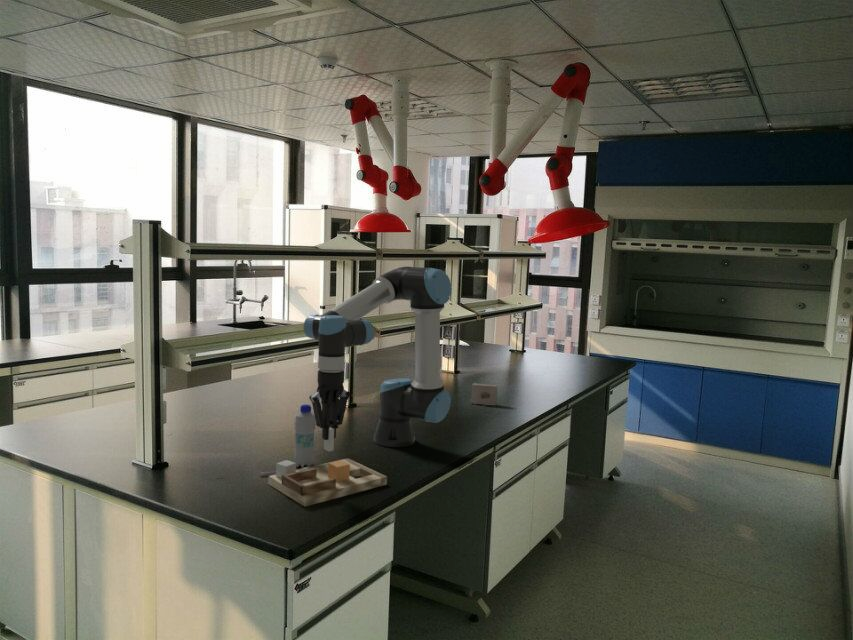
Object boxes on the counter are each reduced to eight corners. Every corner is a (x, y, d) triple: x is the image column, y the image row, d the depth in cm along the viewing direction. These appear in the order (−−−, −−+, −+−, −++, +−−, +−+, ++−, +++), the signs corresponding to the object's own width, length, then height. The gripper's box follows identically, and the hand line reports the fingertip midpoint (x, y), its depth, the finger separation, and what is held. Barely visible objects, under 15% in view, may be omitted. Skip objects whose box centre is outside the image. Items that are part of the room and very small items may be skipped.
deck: (347, 465, 209) (348, 457, 209) (386, 484, 195) (387, 475, 194) (268, 484, 190) (268, 475, 190) (304, 506, 176) (305, 497, 175)
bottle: (315, 462, 211) (317, 402, 209) (312, 469, 204) (314, 407, 202) (294, 461, 211) (296, 401, 208) (291, 468, 204) (293, 406, 202)
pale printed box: (470, 404, 301) (472, 384, 300) (471, 402, 305) (472, 382, 303) (496, 406, 299) (498, 386, 298) (497, 404, 303) (498, 384, 302)
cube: (340, 474, 194) (340, 460, 194) (349, 479, 191) (349, 464, 190) (327, 477, 191) (328, 462, 191) (336, 482, 188) (337, 467, 187)
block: (285, 472, 193) (286, 459, 193) (295, 476, 191) (296, 462, 190) (276, 476, 190) (276, 463, 189) (285, 479, 188) (286, 466, 187)
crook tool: (292, 472, 201) (292, 469, 201) (295, 477, 198) (296, 473, 198) (260, 476, 197) (260, 472, 197) (262, 480, 193) (262, 476, 193)
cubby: (314, 476, 192) (314, 467, 191) (335, 487, 184) (336, 478, 183) (281, 483, 184) (281, 475, 184) (302, 495, 176) (302, 487, 176)
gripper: (342, 365, 192) (339, 442, 194) (304, 369, 183) (302, 450, 186) (357, 369, 186) (354, 449, 189) (319, 374, 177) (316, 457, 180)
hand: (328, 449), depth 187 cm, fingers closed
